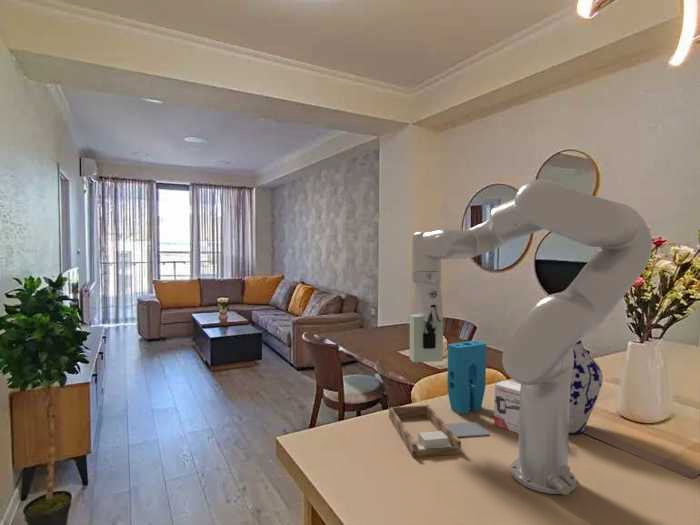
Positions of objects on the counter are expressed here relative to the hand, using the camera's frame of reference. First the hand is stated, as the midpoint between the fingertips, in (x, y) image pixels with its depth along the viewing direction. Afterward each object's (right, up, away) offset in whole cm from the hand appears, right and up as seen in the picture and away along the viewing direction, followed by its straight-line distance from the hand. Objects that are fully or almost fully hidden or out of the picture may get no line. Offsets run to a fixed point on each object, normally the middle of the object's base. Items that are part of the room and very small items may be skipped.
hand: (426, 345), depth 110 cm
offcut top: (0, -22, -10) cm, 24 cm away
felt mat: (+10, -23, +1) cm, 25 cm away
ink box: (+24, -23, +3) cm, 34 cm away
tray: (-2, -23, -1) cm, 23 cm away
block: (+15, -23, +16) cm, 31 cm away
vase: (+38, -23, +4) cm, 45 cm away
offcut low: (-1, -24, -9) cm, 26 cm away
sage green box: (0, -4, 0) cm, 4 cm away
